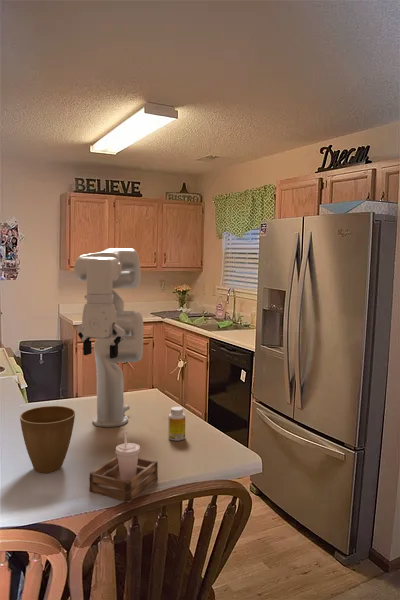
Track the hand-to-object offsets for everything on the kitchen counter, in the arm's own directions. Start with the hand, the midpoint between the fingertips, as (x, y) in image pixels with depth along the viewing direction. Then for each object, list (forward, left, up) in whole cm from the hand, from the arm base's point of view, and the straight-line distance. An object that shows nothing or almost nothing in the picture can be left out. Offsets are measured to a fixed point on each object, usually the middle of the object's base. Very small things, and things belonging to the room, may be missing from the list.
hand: (100, 356), depth 144 cm
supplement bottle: (-21, +15, -31) cm, 40 cm away
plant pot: (+15, -7, -31) cm, 35 cm away
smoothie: (+14, +19, -30) cm, 38 cm away
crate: (+14, +18, -30) cm, 38 cm away
